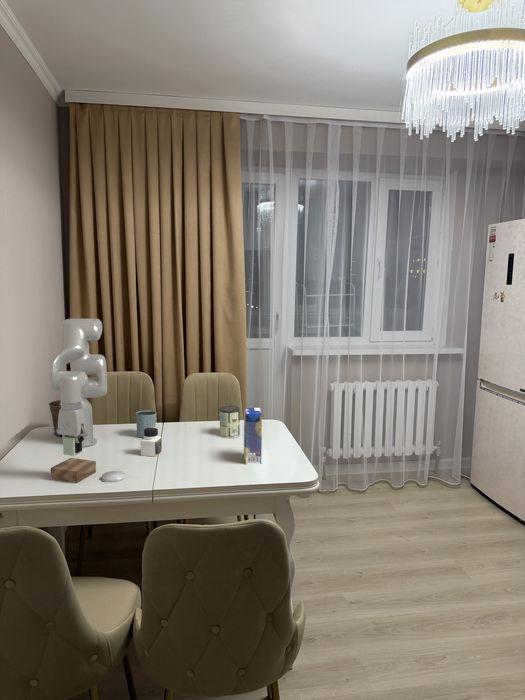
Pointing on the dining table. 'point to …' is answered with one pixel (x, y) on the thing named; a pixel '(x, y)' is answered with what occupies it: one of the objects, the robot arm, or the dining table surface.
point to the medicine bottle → (151, 442)
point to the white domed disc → (113, 476)
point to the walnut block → (73, 470)
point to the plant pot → (55, 413)
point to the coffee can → (229, 421)
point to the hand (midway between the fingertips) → (73, 450)
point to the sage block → (69, 445)
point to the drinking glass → (144, 421)
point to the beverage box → (252, 435)
